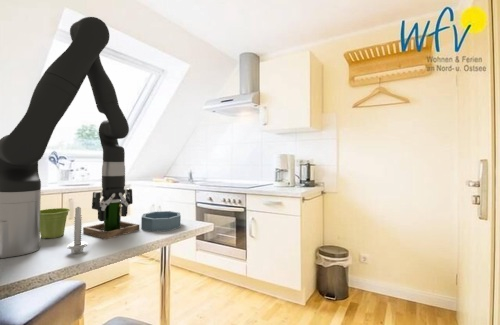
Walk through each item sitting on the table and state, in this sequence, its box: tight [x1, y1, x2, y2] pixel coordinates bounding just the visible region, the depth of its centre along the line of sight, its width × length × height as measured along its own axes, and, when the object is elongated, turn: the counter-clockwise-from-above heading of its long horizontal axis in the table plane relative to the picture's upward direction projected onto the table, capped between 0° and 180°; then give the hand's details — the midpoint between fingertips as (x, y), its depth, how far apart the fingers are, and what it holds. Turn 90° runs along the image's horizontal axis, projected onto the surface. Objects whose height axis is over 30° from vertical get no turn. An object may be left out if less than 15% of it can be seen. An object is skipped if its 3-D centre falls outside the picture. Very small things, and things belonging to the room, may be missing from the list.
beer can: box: [103, 199, 122, 232], centre depth 94 cm, size 5×5×12 cm
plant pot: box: [40, 207, 71, 240], centre depth 86 cm, size 9×9×9 cm
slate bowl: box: [140, 210, 182, 232], centre depth 103 cm, size 14×14×4 cm
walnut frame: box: [82, 220, 140, 240], centre depth 94 cm, size 13×13×2 cm
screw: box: [66, 206, 88, 255], centre depth 73 cm, size 13×5×5 cm
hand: (113, 218), depth 94 cm, fingers open, 8 cm apart
